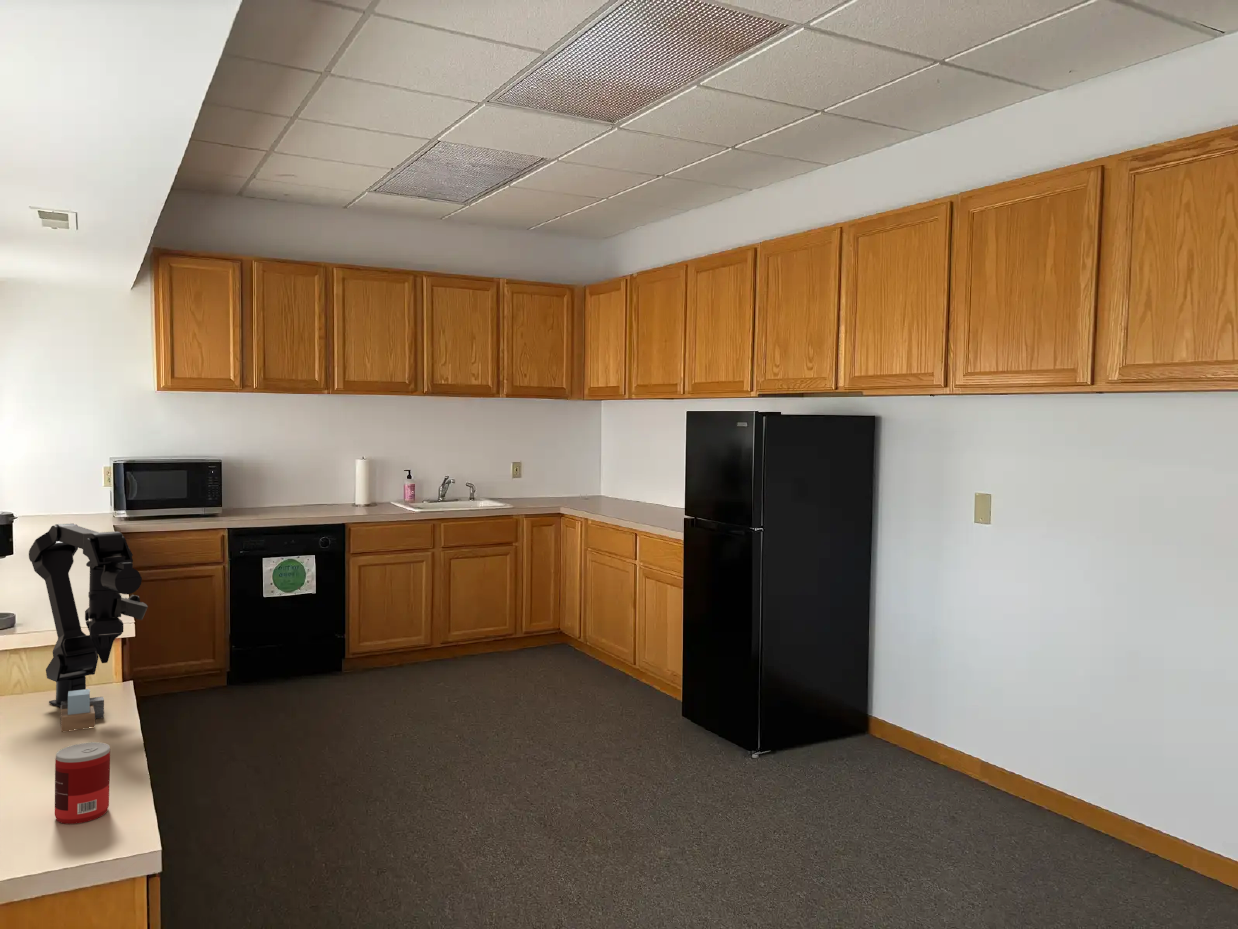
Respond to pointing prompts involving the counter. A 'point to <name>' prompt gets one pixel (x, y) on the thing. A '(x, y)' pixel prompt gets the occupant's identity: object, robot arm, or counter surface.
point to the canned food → (82, 782)
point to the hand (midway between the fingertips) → (102, 658)
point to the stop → (96, 702)
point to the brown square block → (77, 720)
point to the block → (78, 701)
